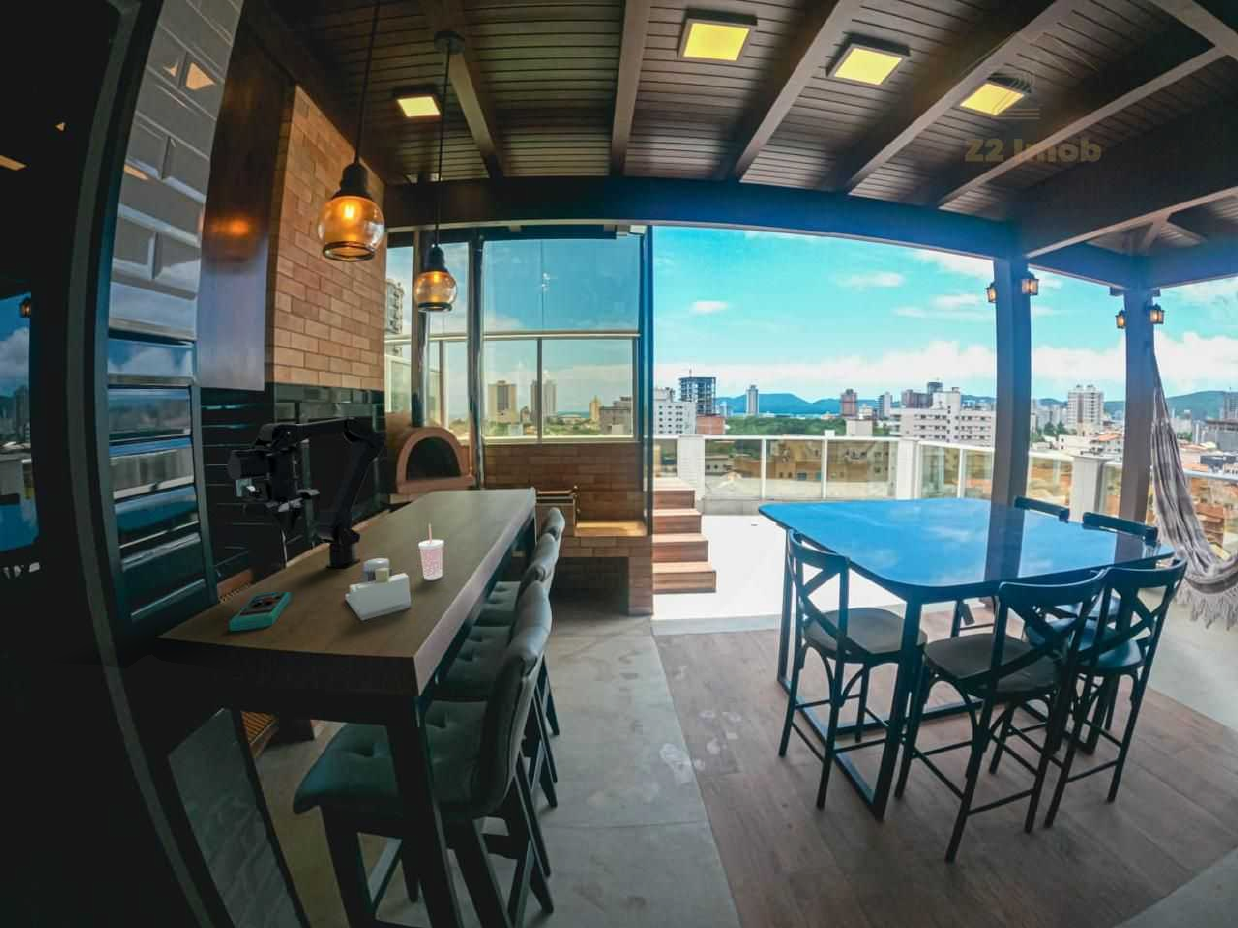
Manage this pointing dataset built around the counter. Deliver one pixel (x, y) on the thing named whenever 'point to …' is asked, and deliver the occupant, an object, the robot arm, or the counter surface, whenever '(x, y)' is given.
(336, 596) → the counter surface
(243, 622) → the digital multimeter
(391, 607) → the knob mount
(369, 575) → the knob
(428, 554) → the beverage cup
